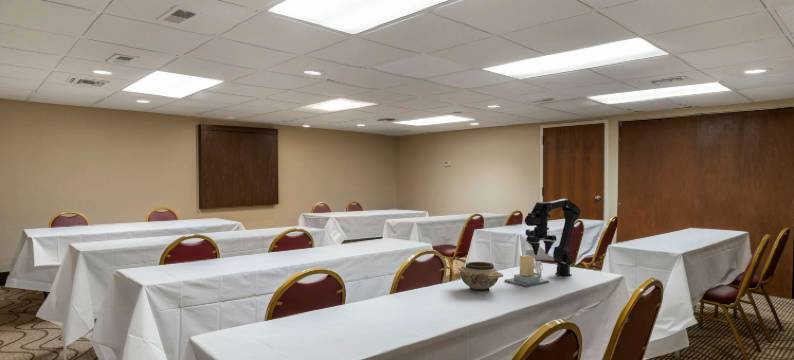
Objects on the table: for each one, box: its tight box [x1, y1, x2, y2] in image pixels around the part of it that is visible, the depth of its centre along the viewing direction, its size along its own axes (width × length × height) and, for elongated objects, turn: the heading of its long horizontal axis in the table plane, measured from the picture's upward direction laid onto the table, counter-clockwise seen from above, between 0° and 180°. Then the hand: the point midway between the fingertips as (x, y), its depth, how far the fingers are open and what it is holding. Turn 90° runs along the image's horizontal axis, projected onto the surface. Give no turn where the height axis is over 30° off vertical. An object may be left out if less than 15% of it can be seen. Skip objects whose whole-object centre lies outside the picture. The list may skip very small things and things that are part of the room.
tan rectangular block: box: [519, 254, 535, 277], centre depth 237 cm, size 5×5×12 cm
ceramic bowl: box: [457, 261, 504, 294], centre depth 219 cm, size 24×18×15 cm
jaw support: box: [534, 258, 544, 277], centre depth 256 cm, size 12×9×10 cm
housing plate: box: [504, 273, 550, 288], centre depth 237 cm, size 18×14×4 cm
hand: (541, 254), depth 244 cm, fingers open, 9 cm apart
